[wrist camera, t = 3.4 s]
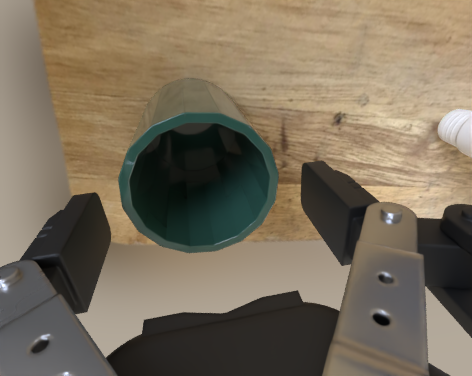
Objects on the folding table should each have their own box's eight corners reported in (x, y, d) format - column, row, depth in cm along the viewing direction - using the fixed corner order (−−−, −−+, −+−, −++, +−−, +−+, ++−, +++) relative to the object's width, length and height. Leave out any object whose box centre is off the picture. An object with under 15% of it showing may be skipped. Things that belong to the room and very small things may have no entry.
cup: (130, 153, 20) (100, 232, 12) (162, 60, 18) (150, 82, 10) (216, 182, 22) (238, 265, 14) (254, 103, 20) (305, 149, 12)
